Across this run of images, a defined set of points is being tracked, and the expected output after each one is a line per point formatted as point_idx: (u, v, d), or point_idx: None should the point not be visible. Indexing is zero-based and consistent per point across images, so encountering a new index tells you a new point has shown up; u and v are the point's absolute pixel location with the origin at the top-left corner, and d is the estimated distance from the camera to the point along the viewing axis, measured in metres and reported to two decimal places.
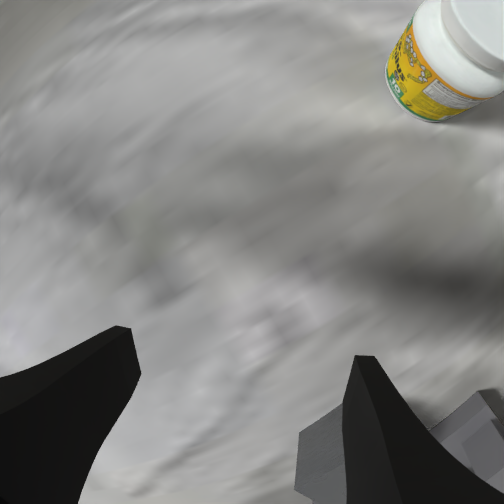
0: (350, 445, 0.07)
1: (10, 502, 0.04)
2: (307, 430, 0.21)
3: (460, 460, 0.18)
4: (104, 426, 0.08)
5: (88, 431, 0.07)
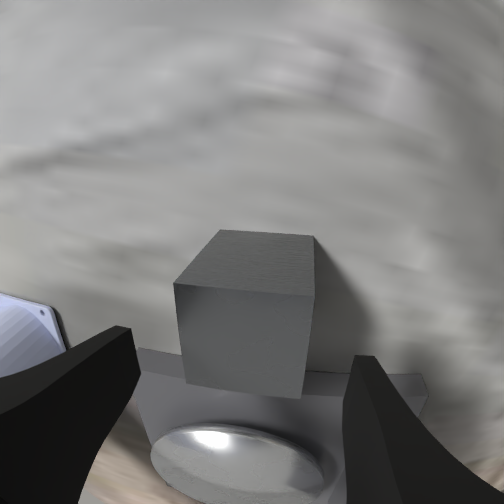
0: (350, 445, 0.07)
1: (10, 502, 0.04)
2: (235, 232, 0.15)
3: (339, 440, 0.17)
4: (104, 427, 0.08)
5: (88, 431, 0.07)
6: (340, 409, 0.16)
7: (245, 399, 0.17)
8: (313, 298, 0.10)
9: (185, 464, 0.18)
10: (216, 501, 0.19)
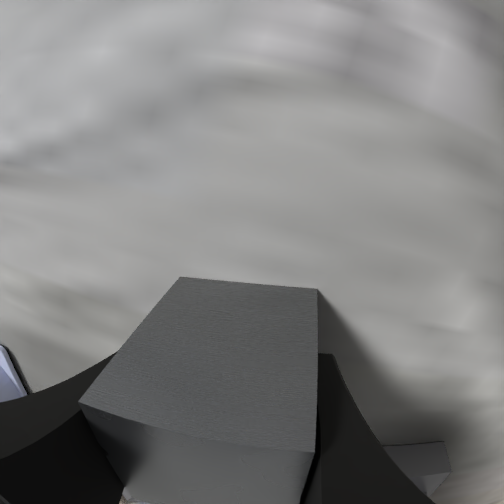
0: None
1: None
2: (200, 284, 0.10)
3: None
4: None
5: None
6: None
7: None
8: (311, 455, 0.04)
9: None
10: None
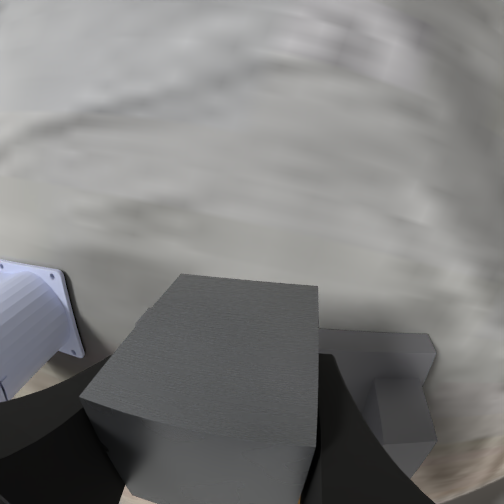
0: None
1: None
2: (201, 281, 0.10)
3: None
4: None
5: None
6: (350, 365, 0.17)
7: None
8: (312, 449, 0.05)
9: None
10: None
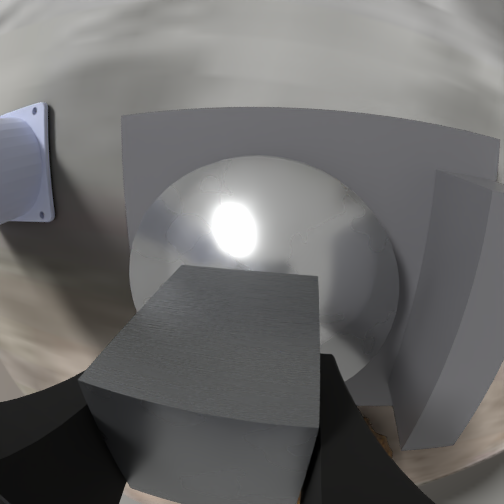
0: None
1: None
2: (201, 271, 0.10)
3: (408, 215, 0.13)
4: None
5: None
6: (403, 143, 0.12)
7: (276, 128, 0.13)
8: (315, 431, 0.05)
9: None
10: None
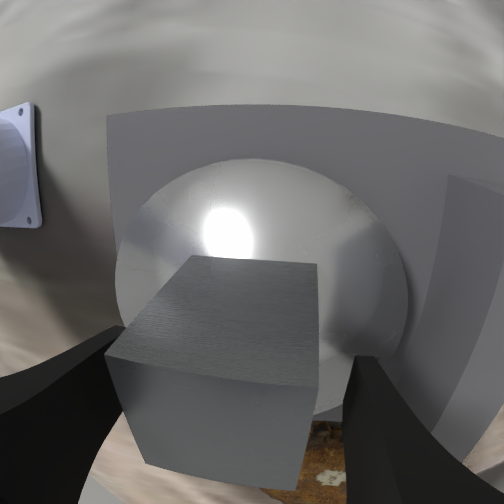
0: (350, 445, 0.07)
1: (10, 502, 0.04)
2: (211, 260, 0.11)
3: (418, 224, 0.12)
4: (104, 427, 0.08)
5: (88, 431, 0.07)
6: (414, 145, 0.11)
7: (274, 128, 0.12)
8: (316, 390, 0.06)
9: None
10: None
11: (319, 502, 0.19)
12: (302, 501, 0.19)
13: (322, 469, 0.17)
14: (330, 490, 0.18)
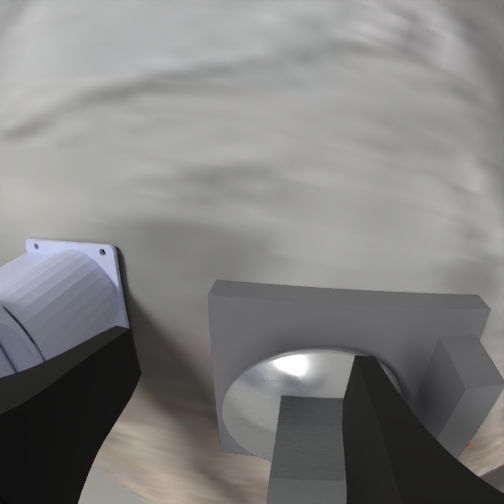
0: (350, 445, 0.07)
1: (10, 502, 0.04)
2: (294, 400, 0.18)
3: (415, 363, 0.18)
4: (104, 427, 0.08)
5: (88, 431, 0.07)
6: (420, 324, 0.17)
7: (335, 318, 0.18)
8: None
9: (263, 407, 0.19)
10: None
11: None
12: None
13: None
14: None
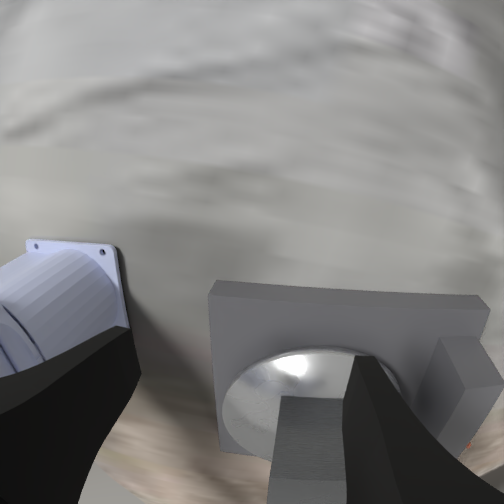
0: (350, 445, 0.07)
1: (10, 502, 0.04)
2: (294, 400, 0.18)
3: (414, 364, 0.18)
4: (104, 427, 0.08)
5: (88, 431, 0.07)
6: (420, 324, 0.17)
7: (334, 318, 0.18)
8: None
9: (263, 407, 0.19)
10: None
11: None
12: None
13: None
14: None
